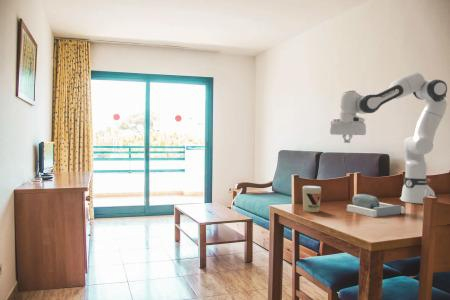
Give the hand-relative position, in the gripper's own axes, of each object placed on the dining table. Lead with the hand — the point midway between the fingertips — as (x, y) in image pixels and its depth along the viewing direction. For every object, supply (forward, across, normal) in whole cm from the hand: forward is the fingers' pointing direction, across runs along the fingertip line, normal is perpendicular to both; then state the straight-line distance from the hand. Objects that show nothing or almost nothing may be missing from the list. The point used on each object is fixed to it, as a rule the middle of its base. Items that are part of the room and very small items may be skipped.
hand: (347, 142), depth 216 cm
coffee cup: (+34, -2, -40) cm, 53 cm away
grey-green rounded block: (+34, +18, -19) cm, 43 cm away
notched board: (+34, +23, -20) cm, 46 cm away
